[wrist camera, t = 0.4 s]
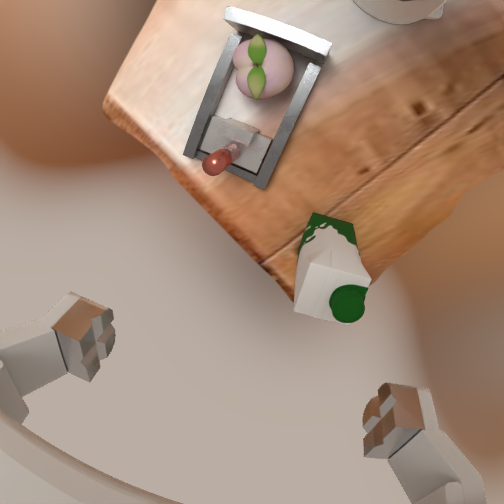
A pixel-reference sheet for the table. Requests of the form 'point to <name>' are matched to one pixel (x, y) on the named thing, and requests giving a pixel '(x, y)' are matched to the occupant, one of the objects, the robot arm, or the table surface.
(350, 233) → the milk carton
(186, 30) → the table surface
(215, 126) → the handle
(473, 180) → the table surface
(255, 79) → the decorative fruit
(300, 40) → the press base
